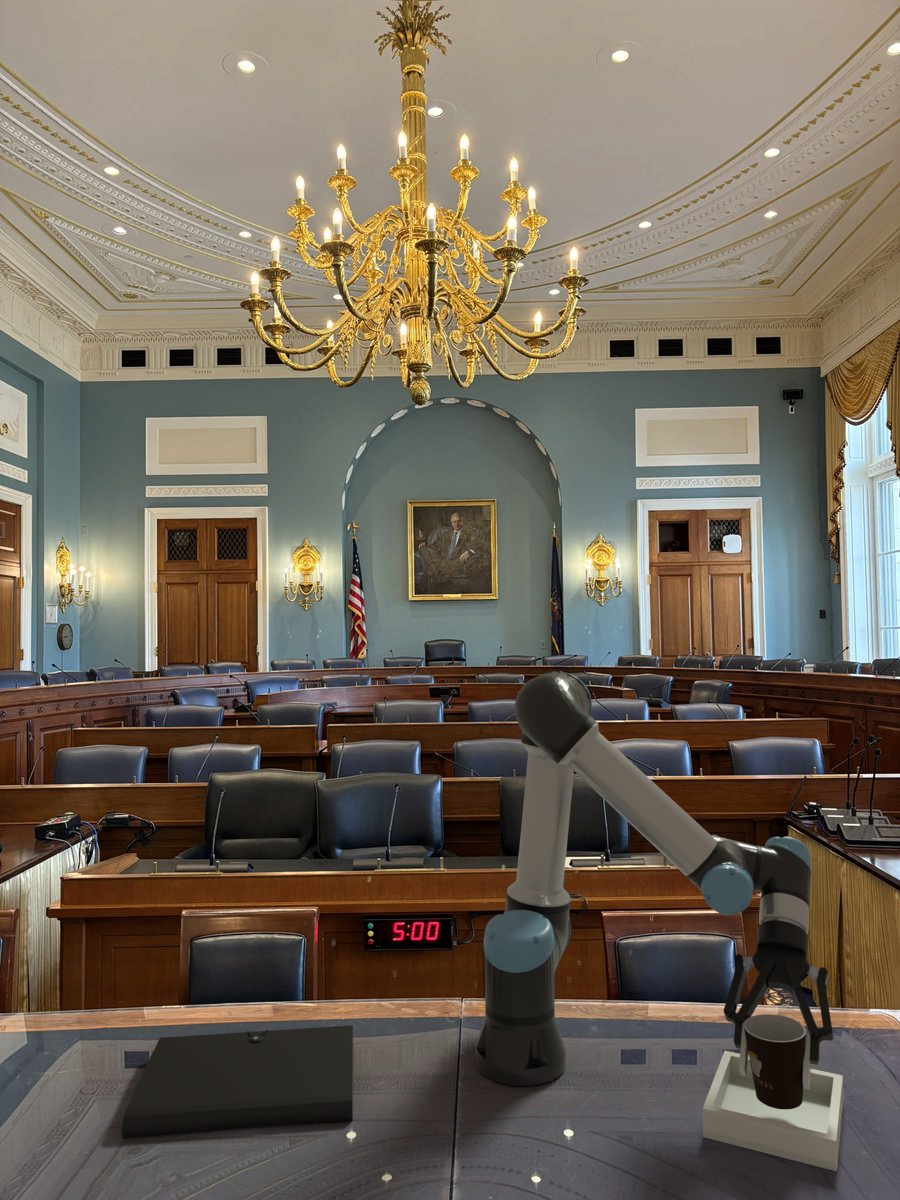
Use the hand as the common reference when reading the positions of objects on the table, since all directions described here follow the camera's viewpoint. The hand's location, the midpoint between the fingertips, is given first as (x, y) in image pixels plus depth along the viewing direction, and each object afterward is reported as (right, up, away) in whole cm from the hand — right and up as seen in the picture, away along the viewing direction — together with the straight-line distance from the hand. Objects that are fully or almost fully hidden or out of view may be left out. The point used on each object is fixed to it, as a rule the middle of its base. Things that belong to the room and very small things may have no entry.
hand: (773, 1078), depth 123 cm
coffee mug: (+2, -4, +3) cm, 5 cm away
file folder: (-79, -10, +13) cm, 81 cm away
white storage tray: (+1, -8, +3) cm, 8 cm away
